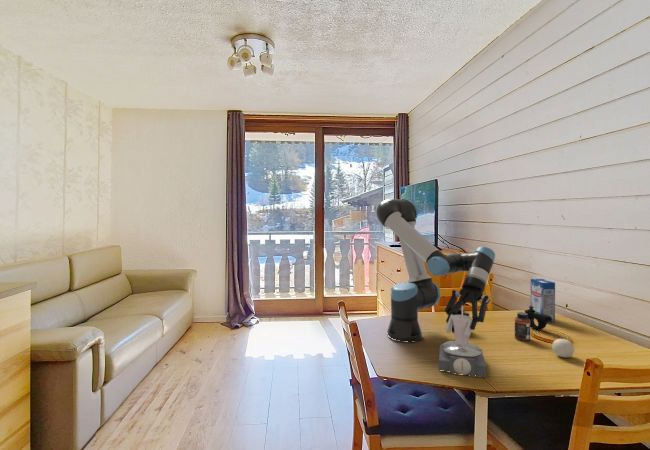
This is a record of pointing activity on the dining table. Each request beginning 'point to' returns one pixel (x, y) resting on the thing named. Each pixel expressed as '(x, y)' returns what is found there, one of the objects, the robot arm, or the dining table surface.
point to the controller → (537, 318)
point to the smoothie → (460, 328)
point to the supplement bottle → (522, 326)
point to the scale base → (462, 364)
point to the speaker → (460, 314)
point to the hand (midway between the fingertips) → (456, 334)
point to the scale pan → (461, 349)
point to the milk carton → (543, 297)
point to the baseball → (563, 348)
